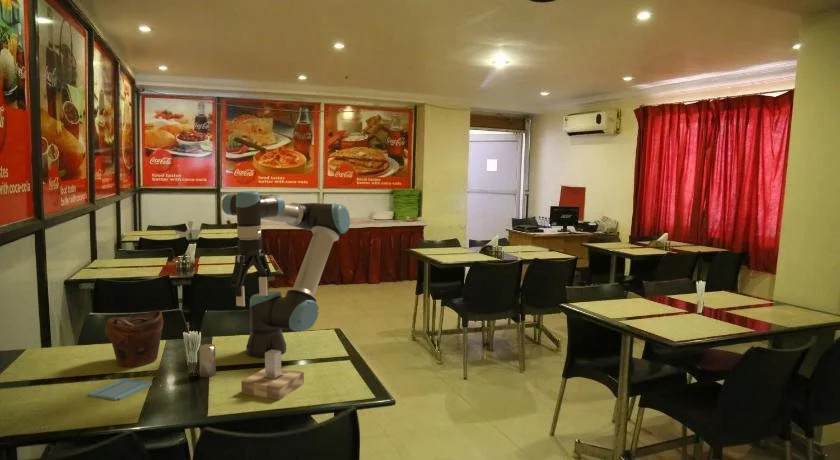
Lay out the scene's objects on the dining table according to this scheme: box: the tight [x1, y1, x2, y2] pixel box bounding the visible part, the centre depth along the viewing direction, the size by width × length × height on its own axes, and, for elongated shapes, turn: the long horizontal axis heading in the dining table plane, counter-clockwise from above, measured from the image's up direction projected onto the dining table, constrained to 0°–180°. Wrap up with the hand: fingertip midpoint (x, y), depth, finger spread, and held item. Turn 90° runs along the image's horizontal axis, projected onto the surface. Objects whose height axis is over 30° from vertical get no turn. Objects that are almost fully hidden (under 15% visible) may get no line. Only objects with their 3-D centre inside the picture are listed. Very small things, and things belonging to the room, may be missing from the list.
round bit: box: [198, 343, 217, 378], centre depth 190 cm, size 5×5×10 cm
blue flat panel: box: [87, 377, 153, 401], centre depth 176 cm, size 14×12×1 cm
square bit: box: [264, 350, 282, 380], centre depth 178 cm, size 4×4×12 cm
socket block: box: [240, 367, 305, 401], centre depth 179 cm, size 14×14×4 cm
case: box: [104, 309, 164, 368], centre depth 201 cm, size 18×20×18 cm
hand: (252, 300), depth 186 cm, fingers open, 13 cm apart
